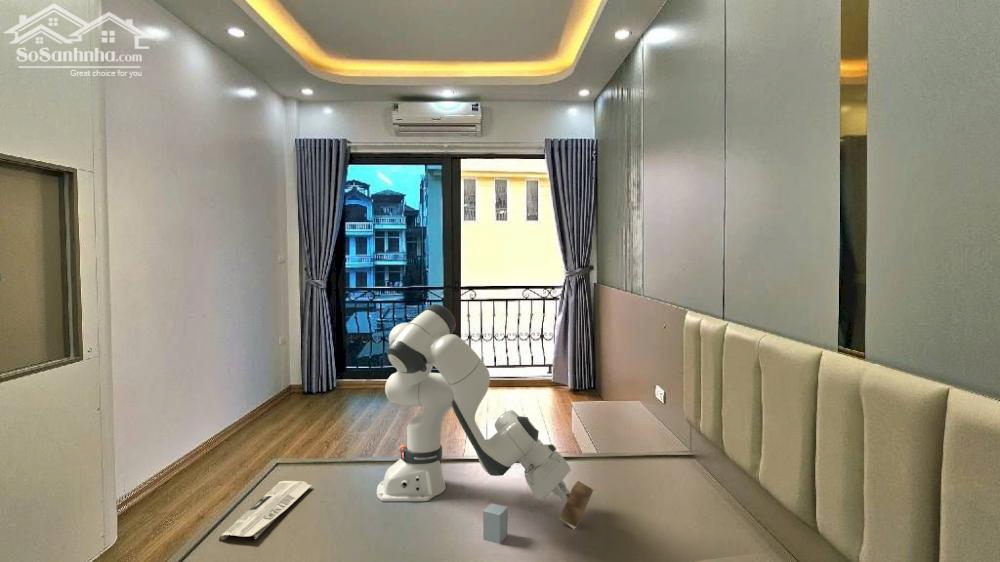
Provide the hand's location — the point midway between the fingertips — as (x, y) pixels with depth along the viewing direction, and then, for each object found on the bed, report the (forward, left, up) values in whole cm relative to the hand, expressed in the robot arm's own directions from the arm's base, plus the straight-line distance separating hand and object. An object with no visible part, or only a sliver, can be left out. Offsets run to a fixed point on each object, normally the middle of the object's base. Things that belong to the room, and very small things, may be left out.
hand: (567, 498), depth 152 cm
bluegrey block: (-22, -3, -7) cm, 23 cm away
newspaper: (-86, +24, -8) cm, 90 cm away
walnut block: (+1, 0, -7) cm, 7 cm away
